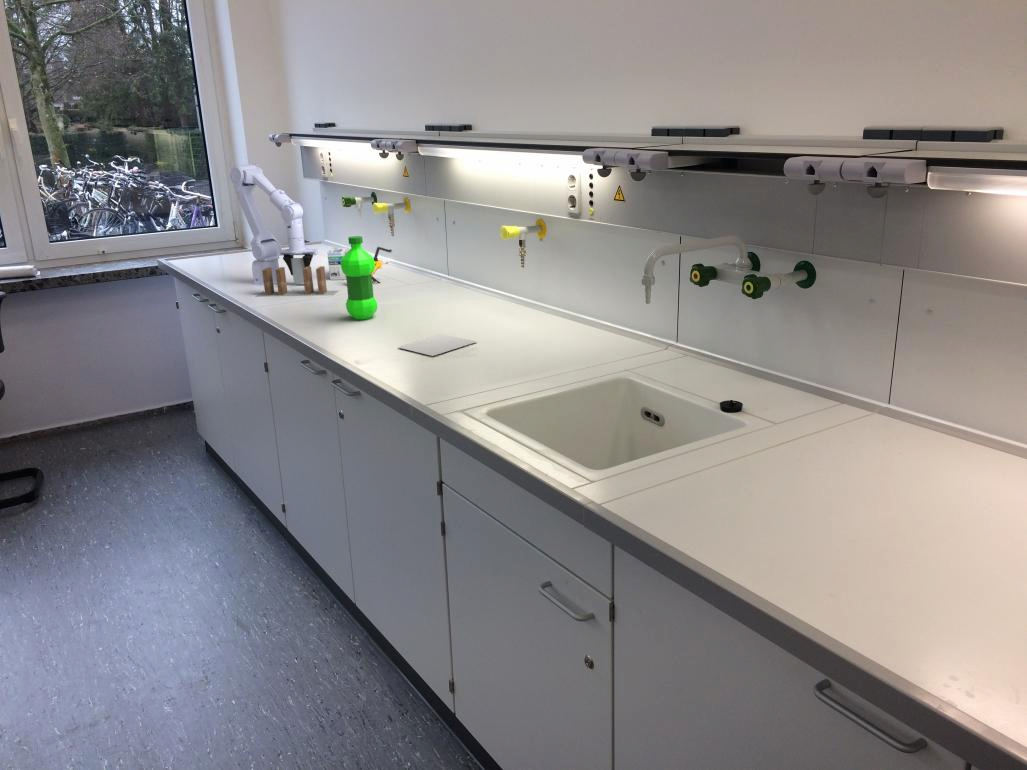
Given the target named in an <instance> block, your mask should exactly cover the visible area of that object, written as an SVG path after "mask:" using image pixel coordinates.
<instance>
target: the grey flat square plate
mask: <svg viewBox="0 0 1027 770" xmlns="http://www.w3.org/2000/svg"><path fill="white" fill-rule="evenodd" d="M474 343H477V341H476V340H471V339H468V338H467V339H466V338H463V337H462V338H461V337H458V336H453V335H448V334H444V333H440V334H438V335H434V336H431V337H427V338H424V339H421V340H417V341H414V342H413V341H412V342H410V343H407V344H404V345H400V346H397V348H398V349H403V350H407V351H411V352H415V353H419V354H421V355H422V354H423V355H428V356H430V357H434V356H437V355H440V354H444V353H446V352H450V351H452V350H457V349H459V348H462V347H466V346H468V345H472V344H474Z"/></svg>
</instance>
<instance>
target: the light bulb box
mask: <svg viewBox="0 0 1027 770" xmlns="http://www.w3.org/2000/svg"><path fill="white" fill-rule="evenodd" d="M349 250H350V249H349V247H331V248H330V249H329V250H328V251H327V260H328V262H327V263H328V269H329V279H330V281H339V280H340V281H344V280H345V281H346V276H345V274H344V273H343V272H342V269H341V259H342V257H343V256H344V255H345V254H346V253H347V252H348V251H349Z"/></svg>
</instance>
